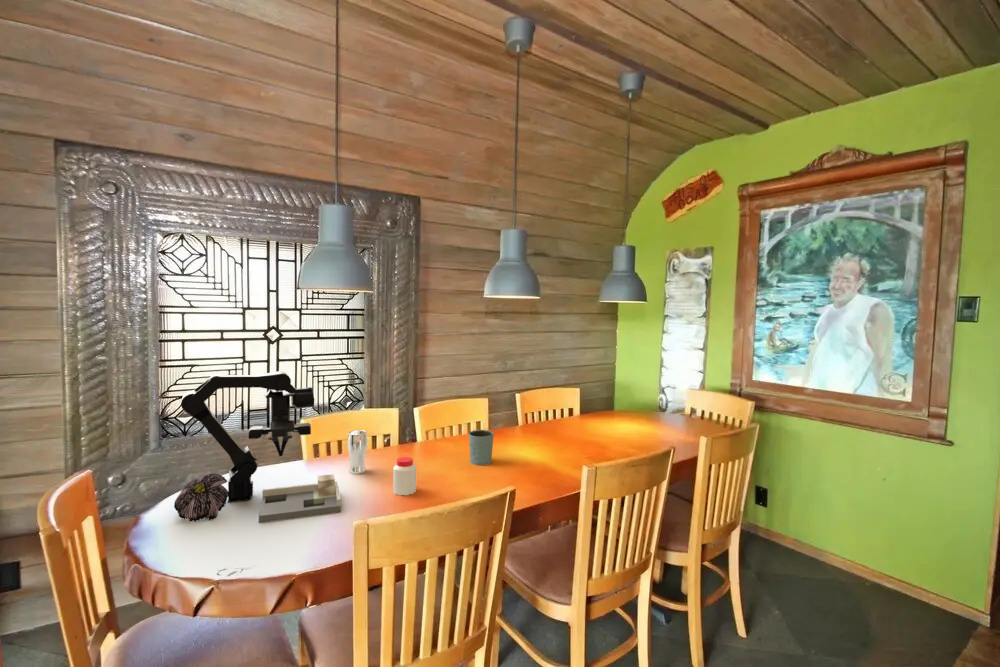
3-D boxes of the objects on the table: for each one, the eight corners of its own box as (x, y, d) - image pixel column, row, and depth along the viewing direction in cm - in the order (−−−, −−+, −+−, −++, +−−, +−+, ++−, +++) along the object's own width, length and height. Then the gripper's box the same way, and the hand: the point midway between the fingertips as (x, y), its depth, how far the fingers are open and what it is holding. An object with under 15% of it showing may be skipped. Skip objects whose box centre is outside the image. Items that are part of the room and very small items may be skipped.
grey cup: (494, 458, 205) (495, 430, 204) (491, 466, 195) (492, 437, 194) (470, 457, 206) (470, 429, 205) (466, 465, 196) (466, 435, 195)
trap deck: (258, 522, 142) (258, 509, 142) (262, 501, 157) (262, 489, 157) (340, 512, 150) (340, 499, 150) (337, 492, 165) (337, 481, 165)
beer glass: (347, 475, 182) (347, 435, 181) (348, 468, 189) (348, 430, 188) (366, 473, 184) (367, 434, 183) (366, 467, 191) (367, 429, 190)
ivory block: (318, 496, 157) (318, 481, 157) (317, 490, 161) (317, 475, 161) (334, 494, 159) (334, 479, 158) (333, 489, 163) (333, 474, 163)
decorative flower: (159, 491, 139) (198, 460, 153) (159, 522, 143) (197, 489, 157) (206, 507, 138) (241, 475, 152) (205, 538, 142) (239, 504, 156)
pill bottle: (413, 485, 173) (414, 455, 172) (418, 494, 166) (418, 461, 165) (391, 488, 170) (391, 457, 170) (394, 496, 163) (395, 464, 162)
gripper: (246, 417, 153) (247, 466, 154) (311, 413, 160) (311, 460, 161) (250, 409, 163) (250, 455, 164) (310, 406, 170) (310, 450, 171)
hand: (280, 455), depth 165 cm, fingers closed
